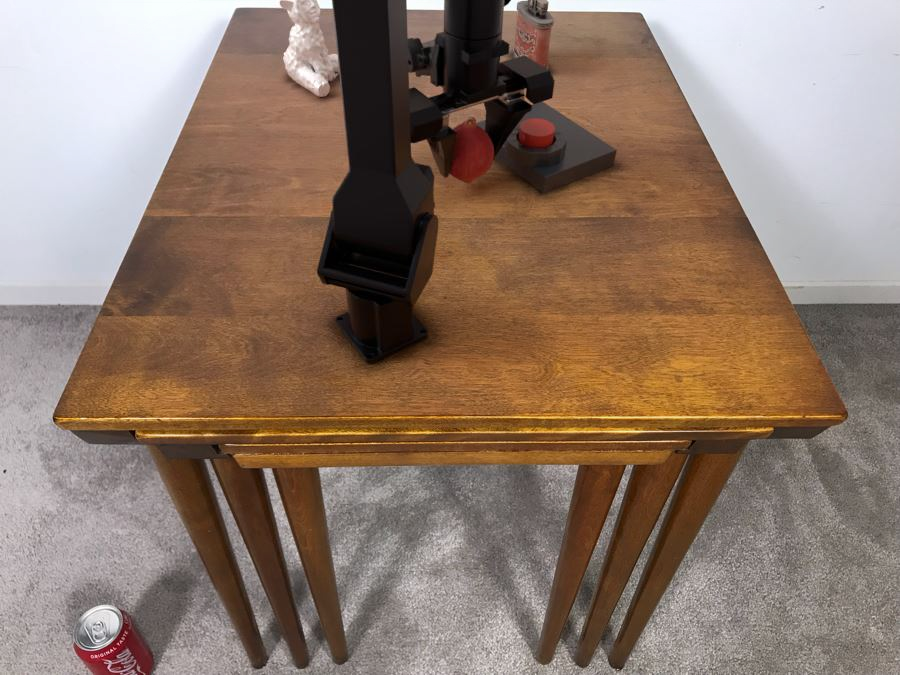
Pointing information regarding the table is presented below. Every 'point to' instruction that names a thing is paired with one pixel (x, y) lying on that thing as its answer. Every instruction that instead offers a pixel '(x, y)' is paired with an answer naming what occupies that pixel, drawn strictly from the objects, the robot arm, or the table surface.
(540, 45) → the lighter
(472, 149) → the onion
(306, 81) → the seated beast figurine
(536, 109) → the console
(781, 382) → the table surface
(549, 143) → the button
